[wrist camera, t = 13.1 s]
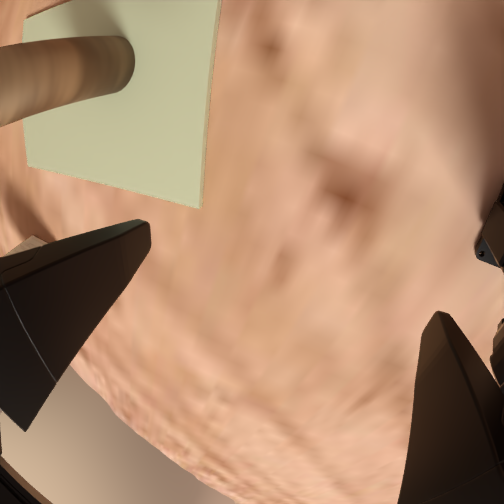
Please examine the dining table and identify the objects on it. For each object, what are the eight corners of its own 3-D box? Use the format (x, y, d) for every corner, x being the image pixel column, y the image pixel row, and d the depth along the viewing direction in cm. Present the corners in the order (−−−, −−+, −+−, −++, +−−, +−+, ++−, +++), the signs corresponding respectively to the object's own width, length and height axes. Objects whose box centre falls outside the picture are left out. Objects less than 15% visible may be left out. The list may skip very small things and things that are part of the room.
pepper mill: (126, 24, 17) (-48, 42, 6) (142, 78, 19) (-35, 126, 8) (86, 53, 19) (-66, 90, 8) (100, 102, 22) (-52, 160, 10)
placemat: (225, -27, 14) (222, -29, 14) (202, 205, 24) (198, 209, 24) (28, 19, 19) (23, 20, 18) (31, 164, 29) (27, 166, 29)
